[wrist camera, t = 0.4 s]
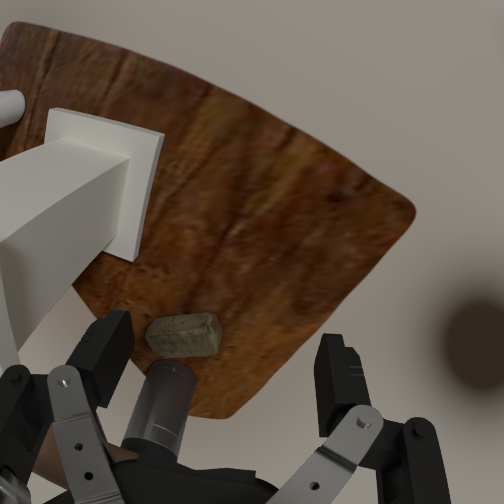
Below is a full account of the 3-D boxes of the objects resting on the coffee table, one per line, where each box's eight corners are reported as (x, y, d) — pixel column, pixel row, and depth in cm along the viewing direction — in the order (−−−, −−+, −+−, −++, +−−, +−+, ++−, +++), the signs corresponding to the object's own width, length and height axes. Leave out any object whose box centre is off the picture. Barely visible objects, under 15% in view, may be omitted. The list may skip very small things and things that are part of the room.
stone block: (150, 315, 51) (140, 336, 46) (215, 306, 49) (210, 328, 44) (164, 341, 53) (156, 361, 49) (226, 334, 51) (222, 356, 47)
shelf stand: (137, 255, 45) (28, 428, 19) (45, 220, 44) (-86, 341, 17) (164, 134, 37) (-29, 250, 10) (57, 107, 35) (-133, 177, 9)
